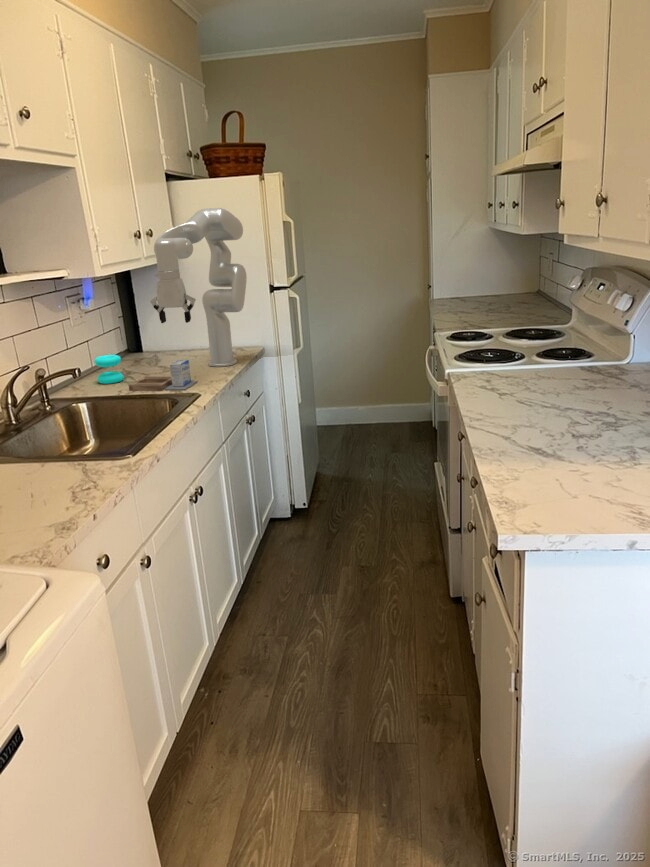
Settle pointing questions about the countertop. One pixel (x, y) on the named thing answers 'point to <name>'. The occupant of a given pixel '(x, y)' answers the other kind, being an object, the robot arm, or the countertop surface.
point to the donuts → (111, 375)
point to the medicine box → (180, 373)
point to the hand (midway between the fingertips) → (175, 322)
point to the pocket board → (151, 384)
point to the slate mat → (182, 387)
